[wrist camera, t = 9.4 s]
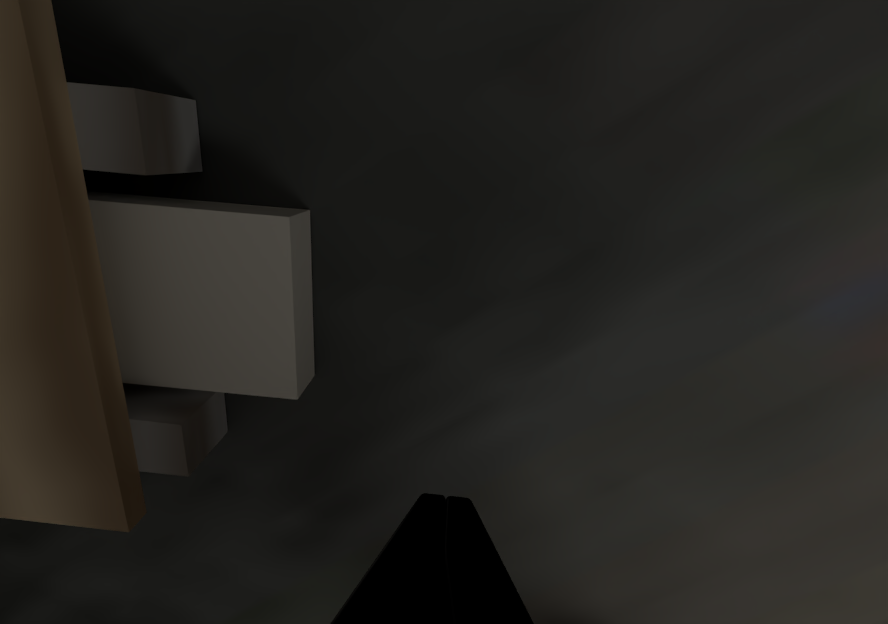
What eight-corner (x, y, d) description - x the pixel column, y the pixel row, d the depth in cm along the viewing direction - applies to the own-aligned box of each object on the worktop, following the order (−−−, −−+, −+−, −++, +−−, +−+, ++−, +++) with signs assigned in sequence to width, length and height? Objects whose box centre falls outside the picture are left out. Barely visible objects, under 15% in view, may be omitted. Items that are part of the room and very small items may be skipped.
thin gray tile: (309, 210, 17) (289, 217, 15) (314, 375, 19) (297, 399, 17) (-100, 175, 17) (-171, 177, 15) (-45, 341, 19) (-101, 361, 17)
